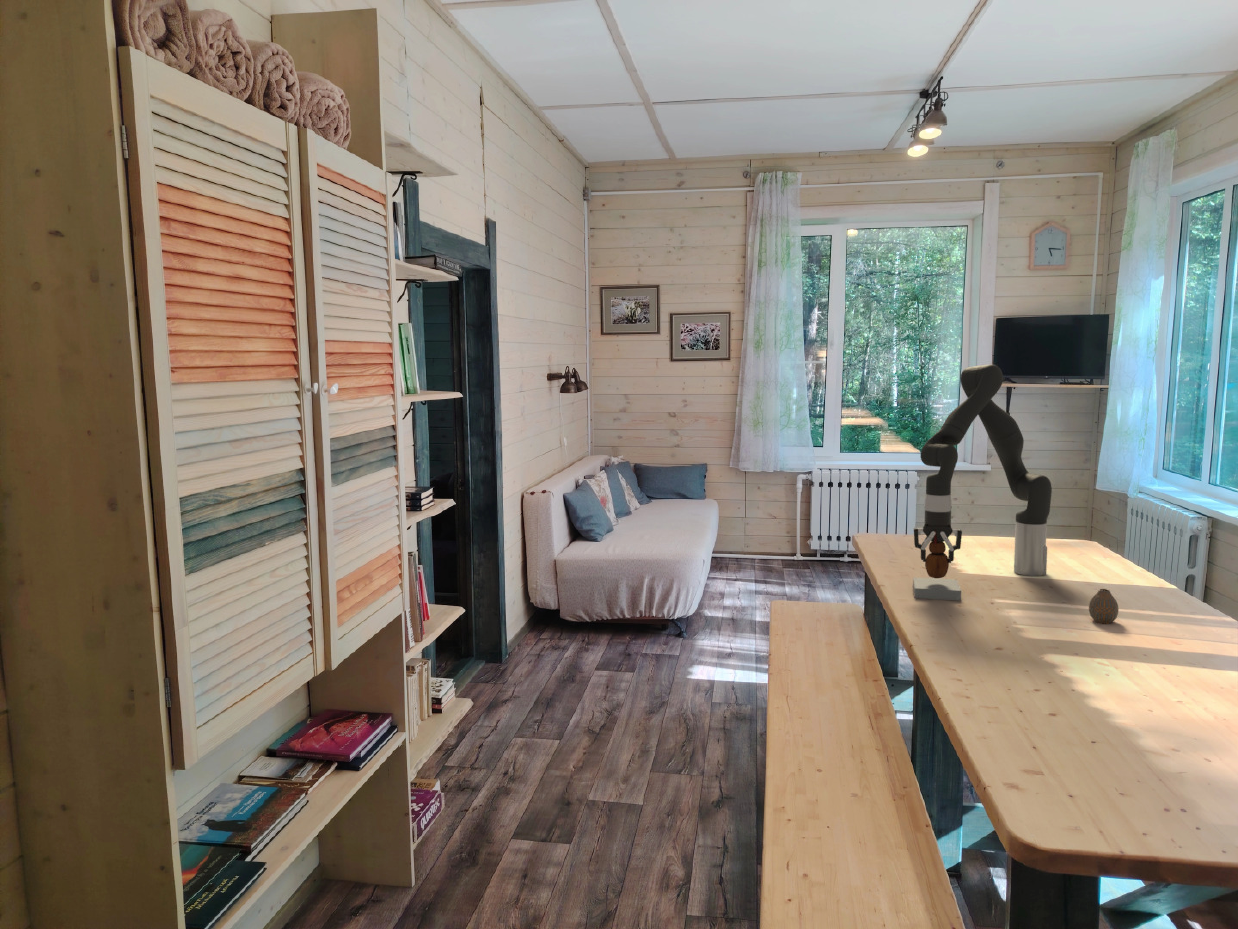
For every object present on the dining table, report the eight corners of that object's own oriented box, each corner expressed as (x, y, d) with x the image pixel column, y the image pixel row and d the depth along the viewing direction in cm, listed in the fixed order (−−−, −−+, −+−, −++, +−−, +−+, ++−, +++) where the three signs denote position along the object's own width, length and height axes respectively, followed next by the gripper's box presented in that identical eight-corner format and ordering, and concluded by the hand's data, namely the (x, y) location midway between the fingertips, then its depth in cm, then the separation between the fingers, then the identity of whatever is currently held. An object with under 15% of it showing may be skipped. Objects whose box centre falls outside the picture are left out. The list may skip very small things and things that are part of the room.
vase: (1116, 619, 221) (1117, 587, 220) (1119, 626, 215) (1121, 594, 214) (1087, 616, 224) (1088, 585, 223) (1089, 623, 218) (1091, 592, 217)
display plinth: (956, 588, 254) (957, 579, 253) (960, 600, 241) (961, 590, 241) (912, 586, 257) (913, 577, 257) (914, 597, 245) (914, 588, 245)
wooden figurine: (936, 580, 245) (937, 532, 243) (921, 576, 250) (922, 529, 248) (952, 577, 248) (953, 529, 246) (937, 573, 253) (937, 526, 251)
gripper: (962, 507, 247) (960, 560, 250) (912, 505, 252) (911, 558, 254) (964, 511, 240) (963, 566, 242) (913, 510, 245) (912, 563, 247)
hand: (936, 561), depth 248 cm, fingers closed on wooden figurine, 6 cm apart
